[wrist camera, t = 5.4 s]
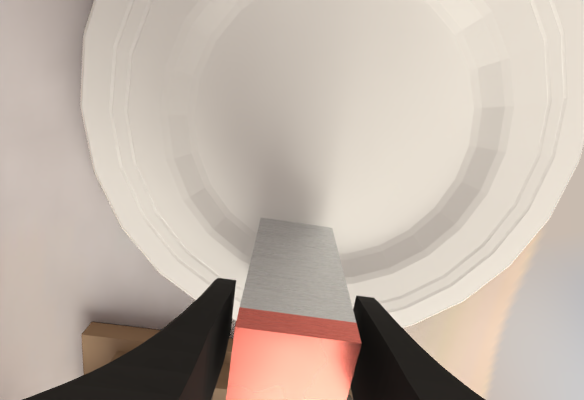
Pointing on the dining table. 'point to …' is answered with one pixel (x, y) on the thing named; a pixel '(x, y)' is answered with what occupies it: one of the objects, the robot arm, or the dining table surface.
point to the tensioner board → (121, 339)
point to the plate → (336, 134)
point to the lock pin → (294, 319)
